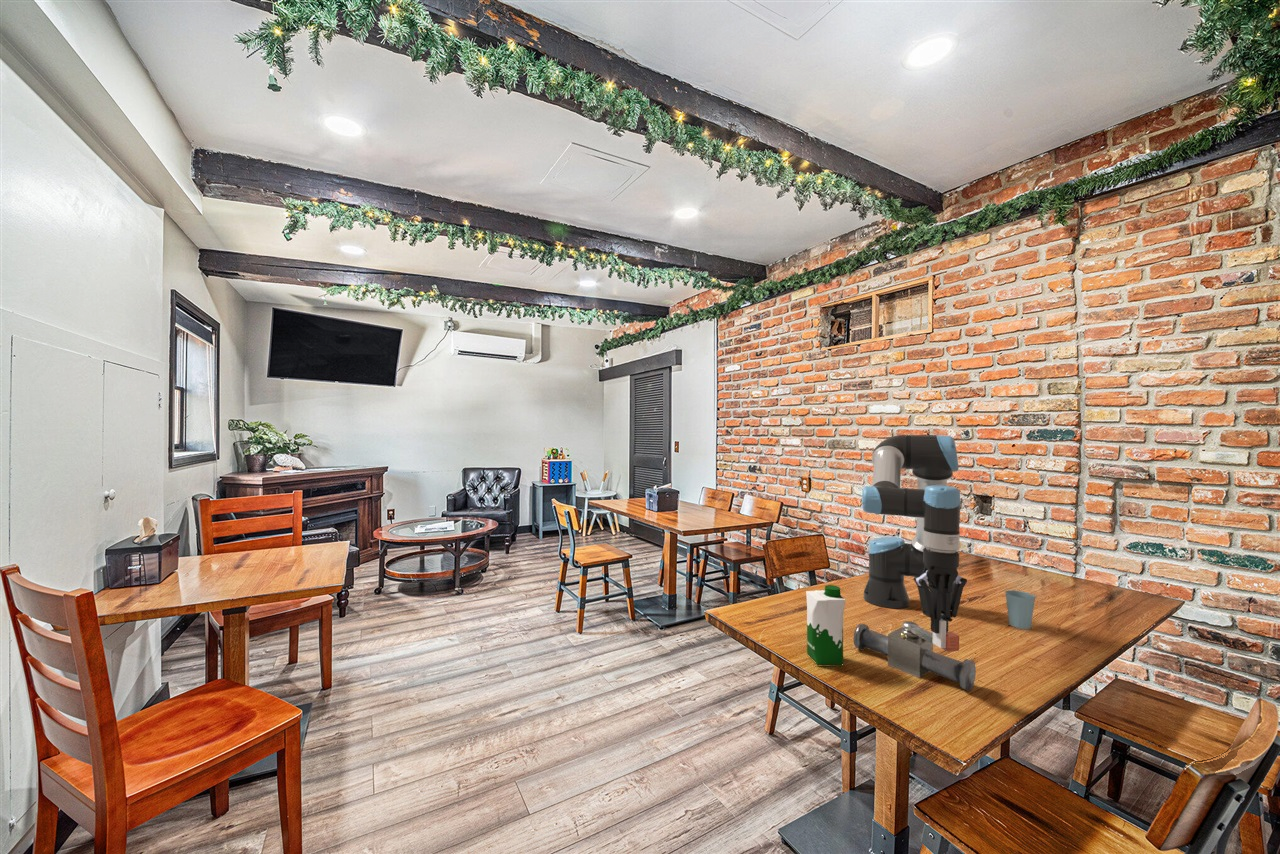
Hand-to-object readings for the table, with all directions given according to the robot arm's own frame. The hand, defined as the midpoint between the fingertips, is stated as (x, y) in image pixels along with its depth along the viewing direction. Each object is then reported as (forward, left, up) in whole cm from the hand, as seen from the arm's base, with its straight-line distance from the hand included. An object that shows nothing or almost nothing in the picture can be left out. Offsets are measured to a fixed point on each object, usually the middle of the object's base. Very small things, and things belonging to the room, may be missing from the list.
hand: (939, 645), depth 117 cm
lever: (-4, +4, -1) cm, 6 cm away
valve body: (-9, +6, -11) cm, 16 cm away
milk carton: (-25, -9, -11) cm, 29 cm away
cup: (0, +64, -11) cm, 65 cm away
